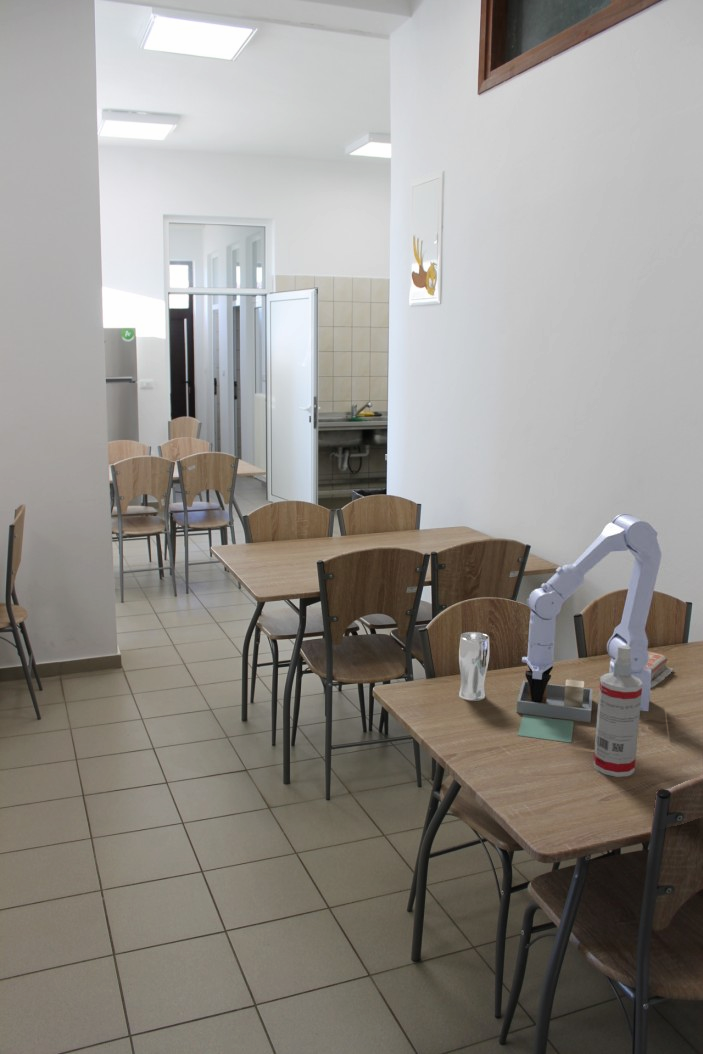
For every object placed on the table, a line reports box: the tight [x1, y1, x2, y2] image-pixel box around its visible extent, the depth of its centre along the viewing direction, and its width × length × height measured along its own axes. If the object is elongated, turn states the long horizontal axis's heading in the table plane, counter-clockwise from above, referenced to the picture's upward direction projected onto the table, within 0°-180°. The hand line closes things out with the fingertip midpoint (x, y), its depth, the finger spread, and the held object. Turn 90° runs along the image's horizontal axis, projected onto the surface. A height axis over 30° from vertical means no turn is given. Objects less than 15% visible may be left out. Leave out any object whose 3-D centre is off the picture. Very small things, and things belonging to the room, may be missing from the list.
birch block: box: [564, 679, 585, 708], centre depth 201 cm, size 4×4×6 cm
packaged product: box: [644, 650, 675, 689], centre depth 223 cm, size 18×5×10 cm
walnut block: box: [528, 682, 549, 704], centre depth 203 cm, size 4×4×6 cm
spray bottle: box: [593, 645, 642, 778], centre depth 172 cm, size 8×8×25 cm
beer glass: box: [458, 631, 490, 702], centre depth 206 cm, size 7×7×15 cm
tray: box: [516, 680, 594, 723], centre depth 202 cm, size 16×13×3 cm
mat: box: [517, 714, 575, 744], centre depth 190 cm, size 11×11×1 cm
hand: (537, 698), depth 203 cm, fingers closed on walnut block, 4 cm apart
